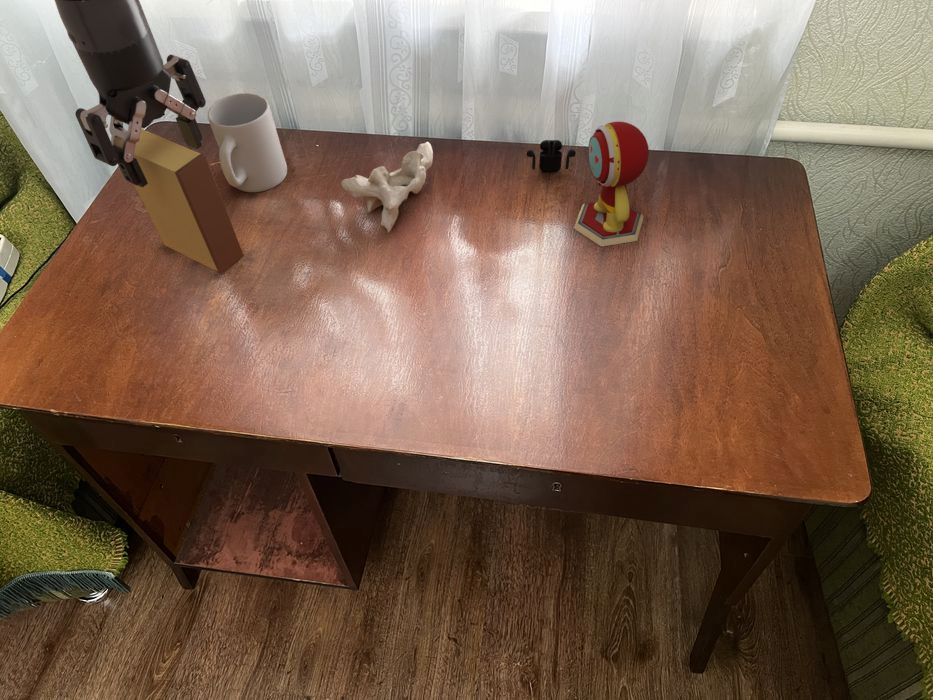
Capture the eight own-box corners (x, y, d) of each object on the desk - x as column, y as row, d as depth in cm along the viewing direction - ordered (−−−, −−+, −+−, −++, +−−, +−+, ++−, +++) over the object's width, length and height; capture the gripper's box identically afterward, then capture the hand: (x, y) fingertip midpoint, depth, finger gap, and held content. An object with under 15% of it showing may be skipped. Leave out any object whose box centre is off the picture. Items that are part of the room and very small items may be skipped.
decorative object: (353, 219, 99) (334, 171, 93) (418, 166, 105) (404, 118, 99) (396, 236, 94) (378, 187, 88) (462, 180, 100) (449, 130, 94)
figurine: (564, 208, 97) (574, 112, 85) (632, 197, 98) (651, 101, 86) (583, 249, 92) (596, 153, 80) (654, 238, 93) (677, 141, 81)
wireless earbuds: (526, 173, 102) (527, 144, 98) (525, 163, 104) (527, 133, 100) (573, 173, 102) (577, 143, 98) (573, 163, 103) (576, 133, 99)
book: (113, 145, 82) (178, 173, 78) (140, 127, 85) (205, 154, 81) (163, 245, 95) (222, 274, 91) (186, 228, 97) (243, 255, 93)
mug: (243, 155, 107) (221, 90, 99) (295, 160, 106) (278, 94, 97) (212, 205, 100) (185, 139, 91) (267, 211, 99) (246, 145, 90)
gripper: (75, 72, 65) (143, 208, 78) (188, 9, 73) (233, 143, 85) (26, 52, 68) (99, 187, 80) (139, -6, 75) (190, 125, 88)
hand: (168, 164), depth 83 cm, fingers open, 8 cm apart
